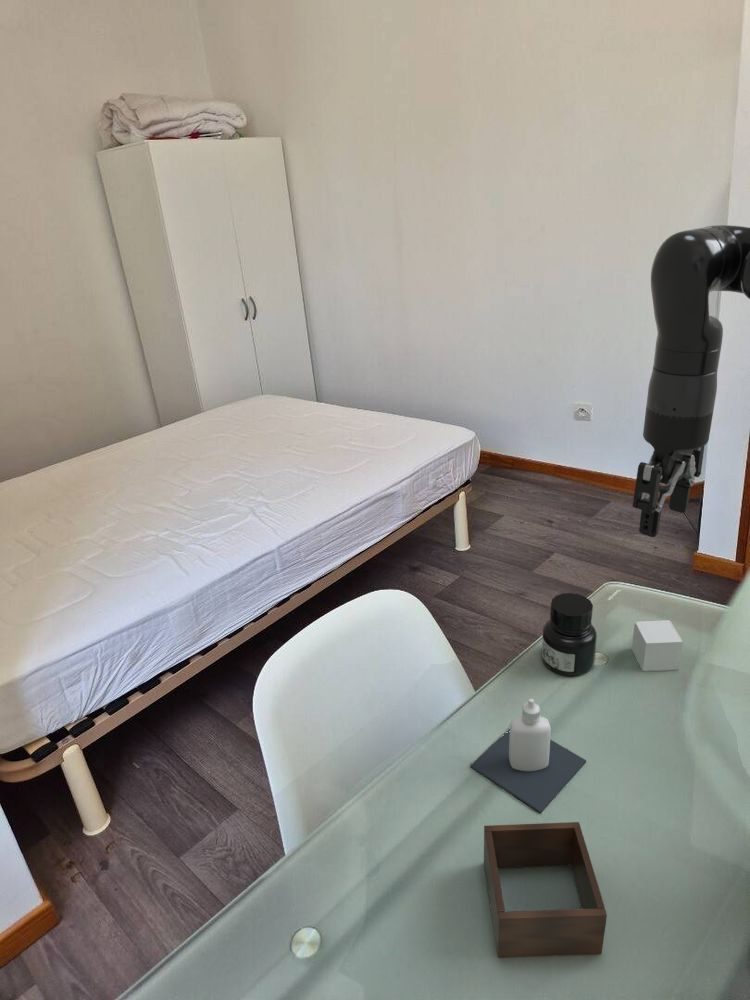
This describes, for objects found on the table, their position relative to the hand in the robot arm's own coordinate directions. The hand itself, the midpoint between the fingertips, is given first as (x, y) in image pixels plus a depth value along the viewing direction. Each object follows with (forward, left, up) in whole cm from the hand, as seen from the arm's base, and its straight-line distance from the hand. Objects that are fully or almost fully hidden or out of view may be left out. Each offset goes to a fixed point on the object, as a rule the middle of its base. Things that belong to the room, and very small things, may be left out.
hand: (663, 522), depth 90 cm
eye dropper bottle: (+8, +17, -36) cm, 40 cm away
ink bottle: (+16, -7, -36) cm, 40 cm away
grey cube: (+5, -17, -36) cm, 40 cm away
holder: (-5, +34, -36) cm, 50 cm away
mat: (+8, +17, -36) cm, 41 cm away
